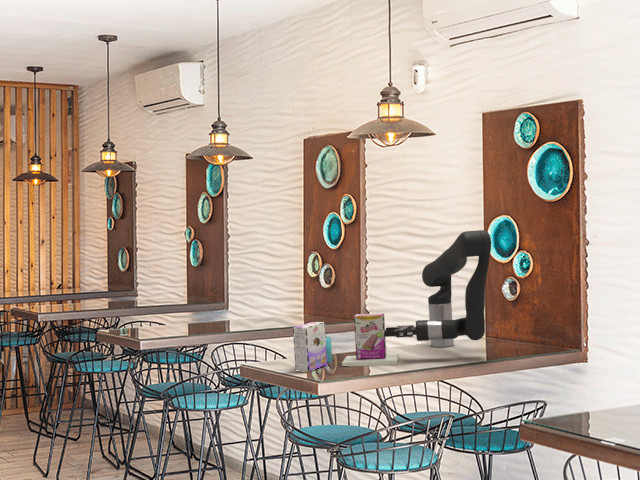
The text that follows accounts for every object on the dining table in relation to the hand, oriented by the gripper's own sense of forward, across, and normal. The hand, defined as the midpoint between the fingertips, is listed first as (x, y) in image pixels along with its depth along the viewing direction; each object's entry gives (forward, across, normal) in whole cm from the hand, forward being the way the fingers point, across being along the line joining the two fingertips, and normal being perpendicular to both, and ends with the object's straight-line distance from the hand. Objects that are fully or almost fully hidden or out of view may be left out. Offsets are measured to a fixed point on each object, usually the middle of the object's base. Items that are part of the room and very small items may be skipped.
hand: (385, 332), depth 305 cm
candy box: (+27, -8, -12) cm, 30 cm away
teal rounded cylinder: (+25, +7, -11) cm, 28 cm away
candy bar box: (+6, +1, -10) cm, 11 cm away
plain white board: (+6, +1, -11) cm, 13 cm away
